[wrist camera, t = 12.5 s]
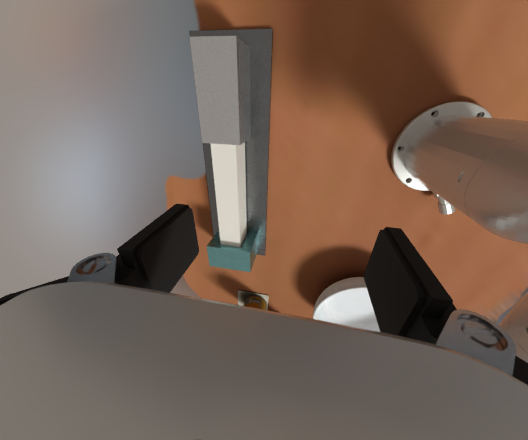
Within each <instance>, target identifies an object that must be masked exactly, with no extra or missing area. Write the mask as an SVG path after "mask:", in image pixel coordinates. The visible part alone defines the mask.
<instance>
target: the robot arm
mask: <svg viewBox="0 0 528 440" xmlns="http://www.w3.org/2000/svg"><path fill="white" fill-rule="evenodd" d="M432 112H433V115H431V113H432ZM477 114H478V115H477ZM476 115H477V116H476ZM399 146H400V149H398V147H399ZM391 164H392V169H393V171H394V174H395V175H396V177H397V178H398V179H399V180H400V181H401V182H402V183H403V184H405V185H406V186H408V187H410V188H413V189H415V190H421V191H432V192H433V195H434V197H436V198H438V207H439V212H440V213H441V214H451V213H453V212H455V208H457V209H458V210H460V211H461V212H462V213H464V214H465V215H467V216H468V217H469V218H471V219H472V220H473V221H475V222H476V223H478V224H479V225H480V226H482V227H483V228H485V229H486V230H488V231H490V232H491V233H493V234H495V235H497V236H500V237H502V238H505V239H508V240H512V241H516V242H520V243H527V244H528V121H521V120H510V119H498V118H492V116H491V114H490V113H489V112H488V111H487V110H486V109H485V108H483V107H481V106H479V105H477V104H474V103H470V102H448V103H444V104H440V105H437V106H434V107H432V108H429V109H427V110H426V111H424V112H422V113H421V114H419V115H418V116H416V117H415V118H414V119H413V120H411V121H410V122H409V123H408V124H407V125H406V126H405V128H404V129H403V130H402V131H401V133H400V134H399V136H398V137H397V139H396V141H395V143H394V146H393V150H392V153H391ZM407 178H408V180H406V179H407ZM117 250H118V252H119V255H118V256H117V257H116V256H115V255H113V254H110V253H100V254H95V255H92V256H89V257H87V258H85V259H83V260H81V261H80V262H78V263H77V264H76V265H75V266H74V267H73V268H72V270H71V272H70V275H69V276H68V277H65V278H62V279H58V280H55V281H52V282H48V283H45V284H42V285H39V286H36V287H32V288H29V289H26V290H23V291H19V292H16V293H12V294H9V295H6V296H4V297H2V298H0V440H528V292H527V293H526V294H525V295H524V296H523V297H522V298H521V299H520V301H519V302H518V303H517V304H516V305H515V306H514V307H513V308H512V309H511V310H510V312H509V313H508V314H507V315H506V316H505V318H504V319H503V320H502V322H501V323H500V324H499V326H498V325H497V324H496V323H494V322H493V321H491V320H490V319H488V318H486V317H484V316H482V315H480V314H478V313H475V312H472V311H469V310H461V309H459V310H457V309H456V308H455V306H454V305H453V303H452V302H453V300H452V299H451V297H450V296H449V294H448V293H447V292H446V290H445V289H444V287H443V286H442V285H441V283H440V282H439V281H438V279H437V278H436V276H435V275H434V274H433V272H432V271H431V270H430V268H429V267H428V265H427V264H426V263H425V261H424V260H423V258H422V257H421V256H420V254H419V253H418V252H417V250H416V249H415V247H414V246H413V245H412V243H411V242H410V240H409V239H408V238H407V236H406V235H405V234H404V232H403V231H402V230H401V229H399V228H390V227H386V228H385V229H384V230H380V232H379V234H378V237H377V240H376V242H375V245H374V248H373V251H372V253H371V256H370V259H369V262H368V264H367V267H366V270H365V273H364V281H365V284H366V287H367V290H368V294H369V297H370V300H371V303H372V307H373V310H374V313H375V316H376V320H377V323H378V326H379V329H380V332H378V331H373V330H368V329H363V328H358V327H353V326H348V325H342V324H337V323H332V322H326V321H321V320H316V319H311V318H305V317H300V316H295V315H289V314H284V313H279V312H273V311H268V310H262V309H257V308H251V307H246V306H241V305H235V304H230V303H224V302H219V301H213V300H208V299H202V298H196V297H190V296H185V295H179V294H174V293H170V291H171V290H172V289H173V288H174V286H175V285H176V283H177V282H178V281H179V279H180V278H181V277H182V275H183V274H184V273H185V271H186V270H187V269H188V267H189V266H190V264H191V263H192V262H193V260H194V259H195V258H196V256H197V255H198V252H199V247H198V241H197V235H196V229H195V223H194V217H193V211H192V209H191V208H190V207H189V206H188V205H184V204H175V205H174V206H173V207H171V208H170V209H169V210H167V211H166V212H165V213H164V214H162V215H161V216H160V217H158V218H157V219H156V220H154V221H153V222H152V223H151V224H149V225H148V226H146V227H145V228H144V229H143V230H141V231H140V232H139V233H137V234H136V235H135V236H133V237H132V238H131V239H130V240H128V241H127V242H126V243H124V244H123V245H122V246H120V247H119V248H118V249H117Z"/></svg>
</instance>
